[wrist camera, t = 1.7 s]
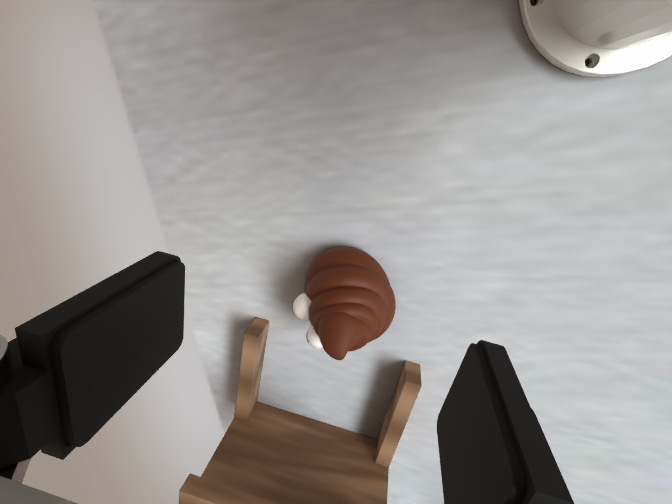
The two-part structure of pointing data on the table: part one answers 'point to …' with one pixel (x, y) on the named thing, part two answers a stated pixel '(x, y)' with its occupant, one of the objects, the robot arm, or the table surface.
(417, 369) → the cubby
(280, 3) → the table surface
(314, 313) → the poop emoji
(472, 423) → the robot arm
